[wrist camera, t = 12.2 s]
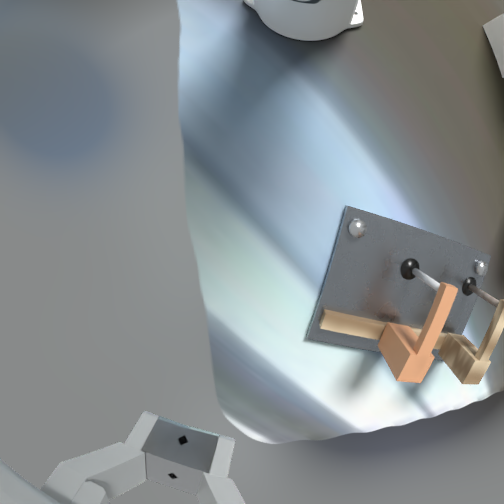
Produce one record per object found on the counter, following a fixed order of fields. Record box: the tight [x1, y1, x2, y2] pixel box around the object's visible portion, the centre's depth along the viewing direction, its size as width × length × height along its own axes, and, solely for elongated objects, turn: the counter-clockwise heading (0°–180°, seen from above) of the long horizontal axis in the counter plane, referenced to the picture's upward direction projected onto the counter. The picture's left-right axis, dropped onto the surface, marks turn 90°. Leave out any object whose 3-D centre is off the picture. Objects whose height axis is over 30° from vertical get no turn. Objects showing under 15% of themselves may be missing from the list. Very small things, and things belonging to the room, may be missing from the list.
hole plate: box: [307, 206, 491, 360], centre depth 39 cm, size 20×28×2 cm
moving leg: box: [377, 268, 458, 383], centre depth 33 cm, size 13×4×10 cm, turn 167°
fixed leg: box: [319, 284, 504, 384], centre depth 34 cm, size 13×26×11 cm, turn 77°
